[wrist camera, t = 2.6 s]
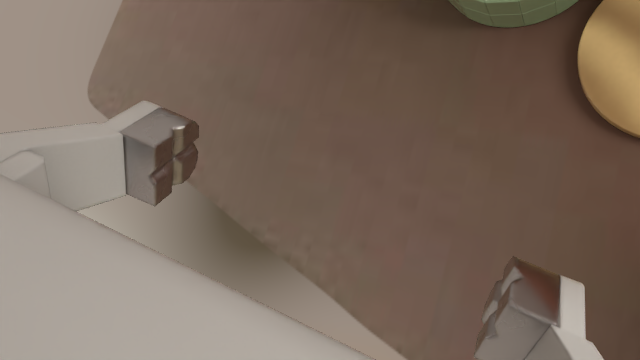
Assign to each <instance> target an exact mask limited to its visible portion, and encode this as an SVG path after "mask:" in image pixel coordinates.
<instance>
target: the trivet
mask: <svg viewBox="0 0 640 360" xmlns="http://www.w3.org/2000/svg"><path fill="white" fill-rule="evenodd" d="M578 74H579V79H580V83H581V86H582V89H583V91H584V93H585V95H586V97H587V99H588V101H589V102H590V103H591V105H592V106H593V108H594V109H595V110H596V111H597V112H598V113H599V114H600V115H601V116H602V117H603V118H604V119H605V120H606V121H608V122H609V123H610V124H611V125H613V126H615V127H616V128H618V129H620V130H621V131H623V132H625V133H628V134H630V135H632V136H634V137H638V138H640V0H603V1H602V2H601V3H600V5H599V6H598V7H597V8H596V9H595V11H594V12H593V14H592V15H591V17H590V18H589V20H588V22H587V24H586V26H585V28H584V30H583V33H582V36H581V39H580V43H579V49H578Z"/></svg>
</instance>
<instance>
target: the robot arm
mask: <svg viewBox="0 0 640 360" xmlns="http://www.w3.org/2000/svg"><path fill="white" fill-rule="evenodd" d="M198 137H199V126H198V124H197V123H196V122H195V121H193V120H190V119H188V118H186V117H184V116H182V115H179V114H177V113H175V112H173V111H170V110H168V109H166V108H163V107H161V106H159V105H156V104H154V103H152V102H150V101H141V102H139V103H138V104H136V105H134V106H132V107H131V108H129V109H127V110H125V111H124V112H122V113H120V114H118V115H117V116H115V117H113V118H111V119H110V120H108V121H106V122H104V123H103V124H98V123H86V124H77V125H69V126H60V127H51V128H42V129H33V130H24V131H15V132H6V133H0V360H376V359H373V358H371V357H369V356H367V355H365V354H363V353H361V352H359V351H357V350H355V349H353V348H351V347H349V346H347V345H345V344H343V343H341V342H339V341H337V340H335V339H333V338H331V337H329V336H327V335H325V334H323V333H321V332H319V331H317V330H315V329H313V328H311V327H309V326H307V325H305V324H303V323H301V322H299V321H297V320H295V319H293V318H291V317H289V316H287V315H285V314H283V313H281V312H279V311H277V310H275V309H273V308H271V307H269V306H266V305H264V304H263V303H260V302H258V301H256V300H254V299H252V298H250V297H248V296H246V295H244V294H242V293H240V292H238V291H236V290H234V289H232V288H230V287H228V286H226V285H224V284H222V283H220V282H218V281H216V280H214V279H212V278H210V277H208V276H206V275H204V274H202V273H200V272H198V271H196V270H194V269H192V268H189V267H187V266H185V265H183V264H181V263H179V262H177V261H175V260H173V259H171V258H169V257H167V256H165V255H163V254H161V253H159V252H157V251H155V250H153V249H151V248H149V247H147V246H145V245H143V244H141V243H139V242H137V241H135V240H133V239H131V238H129V237H127V236H125V235H123V234H121V233H118V232H117V231H115V230H113V229H111V228H109V227H106V226H104V225H102V224H100V223H98V222H96V221H94V220H92V219H90V218H88V217H86V216H84V215H82V214H80V213H78V212H76V211H79V210H82V209H85V208H88V207H91V206H95V205H98V204H101V203H104V202H107V201H110V200H114V199H117V198H120V197H123V196H126V194H128V195H130V196H132V197H134V198H137V199H139V200H141V201H144V202H146V203H148V204H151V205H153V206H156V205H157V204H158V203H160V202H161V201H162V200H163V199H164V198H166V197H167V196H168V195H169V194H170V193H171V192H172V185H177V184H182V183H183V182H184V181H186V180H187V179H188V178H189V177H190V175H191V174H192V172H193V170H194V169H195V166H196V163H197V159H198V151H197V149H196V147H195V145H194V143H193V142H194V141H195V140H196V139H197V138H198ZM482 321H483V323H484V326H483V327H482V329H481V331H480V332H479V334H478V338H477V343H476V348H475V353H474V357H475V358H476V359H478V360H604V359H603V357H602V356H601V355H600V353H599V352H598V350H597V349H596V347H595V346H594V344H593V343H592V342H590V341H588V340H586V336H585V287H584V286H583V284H582V283H580V282H577V281H575V280H572V279H570V278H567V277H565V276H562V275H557V274H555V273H553V272H550V271H548V270H545V269H543V268H541V267H538V266H536V265H533V264H531V263H529V262H526V261H524V260H521V259H519V258H517V257H514V256H513V257H512V258H511V259H510V260H509V262H508V263H507V265H506V267H505V269H504V274H503V279H502V280H500V281H497V282H496V283H495V285H494V287H493V289H492V290H491V292H490V295H489V297H488V299H487V301H486V304H485V307H484V310H483V315H482Z"/></svg>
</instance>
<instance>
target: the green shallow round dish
mask: <svg viewBox="0 0 640 360" xmlns="http://www.w3.org/2000/svg"><path fill="white" fill-rule="evenodd" d="M448 1H449V2H450V3H451V4H452V5H453V6H454V7H455V8H456V9H457V10H458V11H460V12H461V13H462V14H463V15H465V16H466V17H468V18H470V19H472V20H474V21H476V22H479V23H481V24H485V25H489V26H494V27H520V26H527V25H531V24H535V23H538V22H541V21H544V20H547V19H549V18H551V17H553V16H555V15H557V14H559V13H561V12H563V11H564V10H566V9H568V8H569V7H571V6H572V5H573V4H575V3H576V2H577V1H578V0H448Z"/></svg>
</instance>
